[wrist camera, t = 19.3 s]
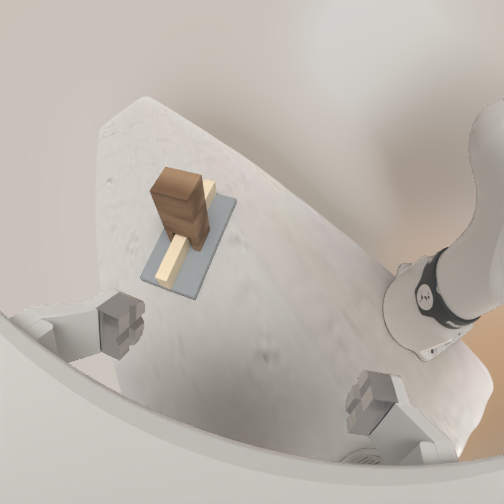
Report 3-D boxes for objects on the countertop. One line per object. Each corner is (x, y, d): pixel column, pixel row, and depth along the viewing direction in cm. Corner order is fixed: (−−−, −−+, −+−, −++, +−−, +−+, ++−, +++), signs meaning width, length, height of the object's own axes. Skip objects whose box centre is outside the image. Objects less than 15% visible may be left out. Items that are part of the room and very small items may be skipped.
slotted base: (188, 190, 54) (185, 174, 50) (236, 202, 53) (236, 186, 49) (142, 280, 45) (133, 269, 41) (195, 300, 44) (190, 290, 40)
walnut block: (181, 221, 50) (165, 166, 37) (210, 230, 49) (201, 175, 37) (170, 242, 48) (149, 190, 35) (200, 252, 47) (187, 200, 35)
